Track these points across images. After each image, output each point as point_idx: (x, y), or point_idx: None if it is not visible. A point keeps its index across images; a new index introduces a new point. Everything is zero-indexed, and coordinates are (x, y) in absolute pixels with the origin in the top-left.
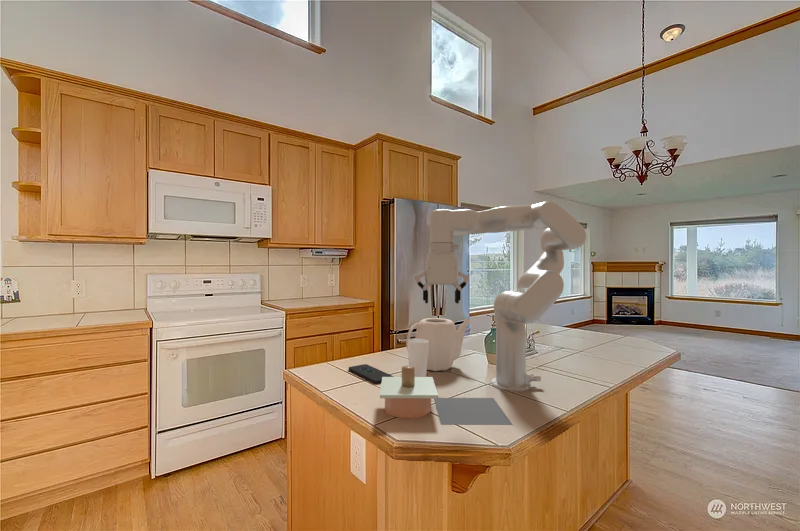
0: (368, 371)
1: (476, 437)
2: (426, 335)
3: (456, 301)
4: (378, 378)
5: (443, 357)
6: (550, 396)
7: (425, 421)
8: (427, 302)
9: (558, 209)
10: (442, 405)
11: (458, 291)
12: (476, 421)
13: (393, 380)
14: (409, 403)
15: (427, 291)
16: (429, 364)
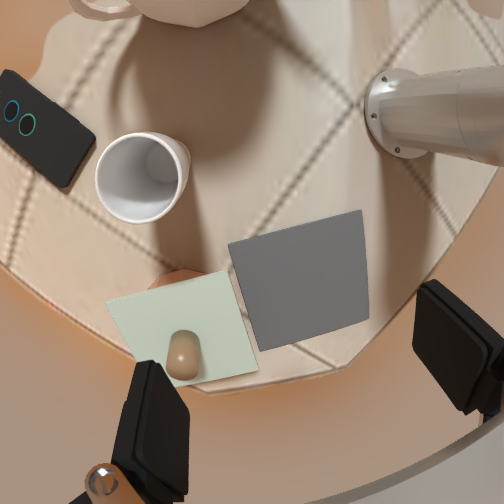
0: (24, 126)
1: (311, 361)
2: None
3: (418, 355)
4: (61, 167)
5: (227, 10)
6: (455, 170)
7: None
8: (185, 414)
9: None
10: (253, 281)
11: (471, 405)
12: (317, 326)
13: (140, 321)
14: None
15: (182, 493)
16: (178, 23)
